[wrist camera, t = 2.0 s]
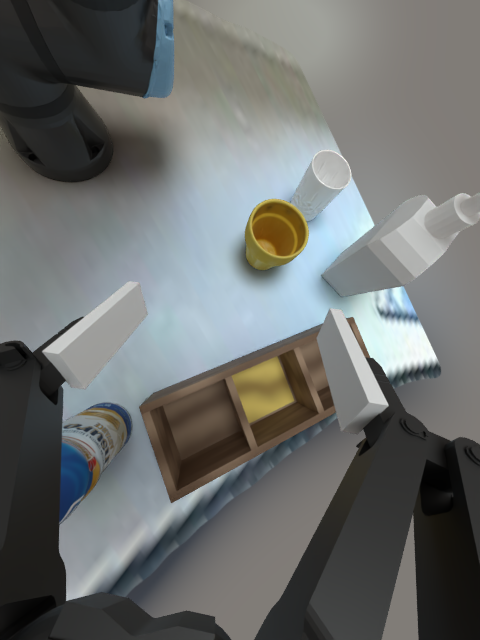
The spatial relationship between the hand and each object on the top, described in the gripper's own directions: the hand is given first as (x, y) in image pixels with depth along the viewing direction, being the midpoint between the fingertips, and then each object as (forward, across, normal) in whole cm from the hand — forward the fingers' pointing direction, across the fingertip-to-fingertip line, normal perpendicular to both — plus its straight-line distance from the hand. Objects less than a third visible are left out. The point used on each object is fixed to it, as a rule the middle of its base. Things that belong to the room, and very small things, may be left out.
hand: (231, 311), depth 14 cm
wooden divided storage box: (+10, +5, -24) cm, 27 cm away
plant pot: (+29, +2, -6) cm, 30 cm away
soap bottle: (+32, +21, -10) cm, 40 cm away
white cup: (+41, +10, +1) cm, 42 cm away
